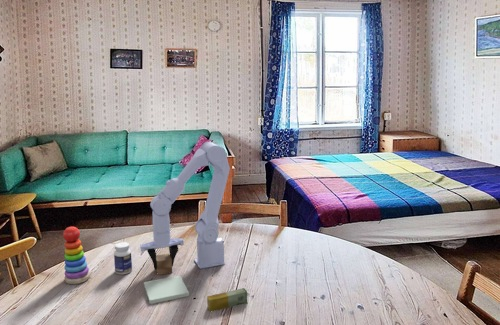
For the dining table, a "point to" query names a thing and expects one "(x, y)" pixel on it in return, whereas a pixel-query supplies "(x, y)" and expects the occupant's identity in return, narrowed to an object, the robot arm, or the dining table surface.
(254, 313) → the dining table surface
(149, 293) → the sage tile
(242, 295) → the medication box
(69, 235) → the stacking toy
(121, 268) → the pill bottle
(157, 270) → the walnut cube
